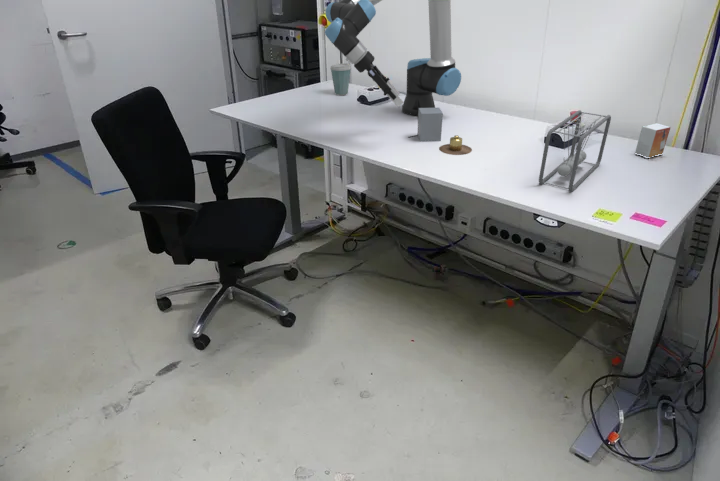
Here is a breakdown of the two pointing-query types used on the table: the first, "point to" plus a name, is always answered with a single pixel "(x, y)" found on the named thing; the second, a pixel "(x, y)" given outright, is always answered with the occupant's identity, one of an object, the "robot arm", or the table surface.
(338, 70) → the disposable coffee cup
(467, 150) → the walnut coaster
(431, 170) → the table surface
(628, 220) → the table surface
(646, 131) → the small box
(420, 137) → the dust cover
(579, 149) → the newton's cradle
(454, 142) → the brass weight
